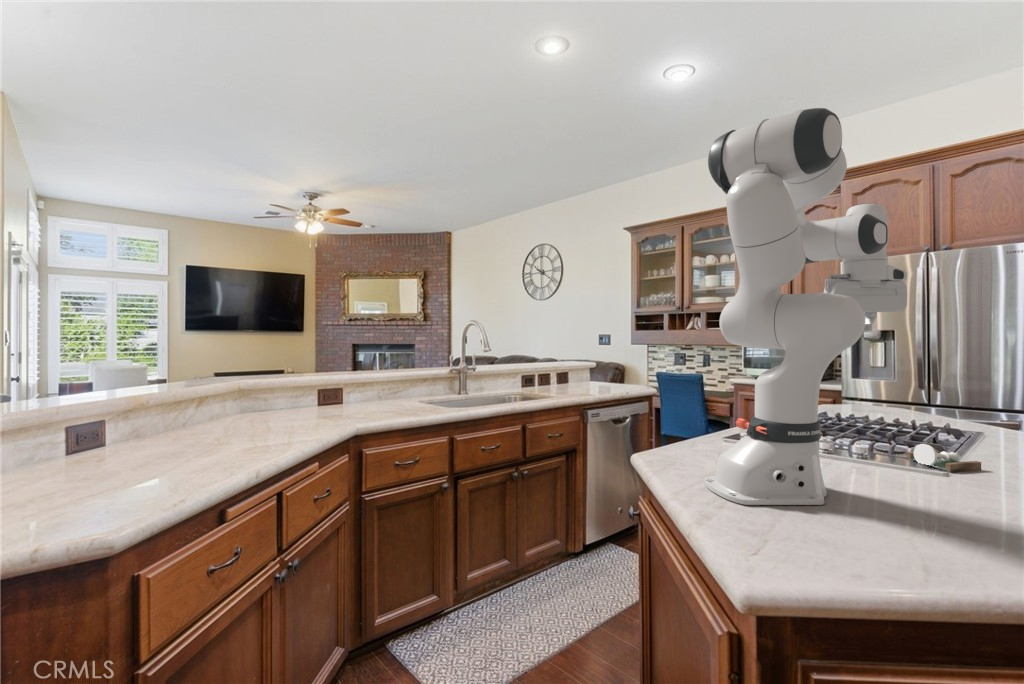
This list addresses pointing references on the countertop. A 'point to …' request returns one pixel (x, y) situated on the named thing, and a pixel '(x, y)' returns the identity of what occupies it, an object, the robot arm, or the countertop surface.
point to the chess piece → (932, 455)
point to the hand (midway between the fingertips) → (863, 331)
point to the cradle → (953, 464)
